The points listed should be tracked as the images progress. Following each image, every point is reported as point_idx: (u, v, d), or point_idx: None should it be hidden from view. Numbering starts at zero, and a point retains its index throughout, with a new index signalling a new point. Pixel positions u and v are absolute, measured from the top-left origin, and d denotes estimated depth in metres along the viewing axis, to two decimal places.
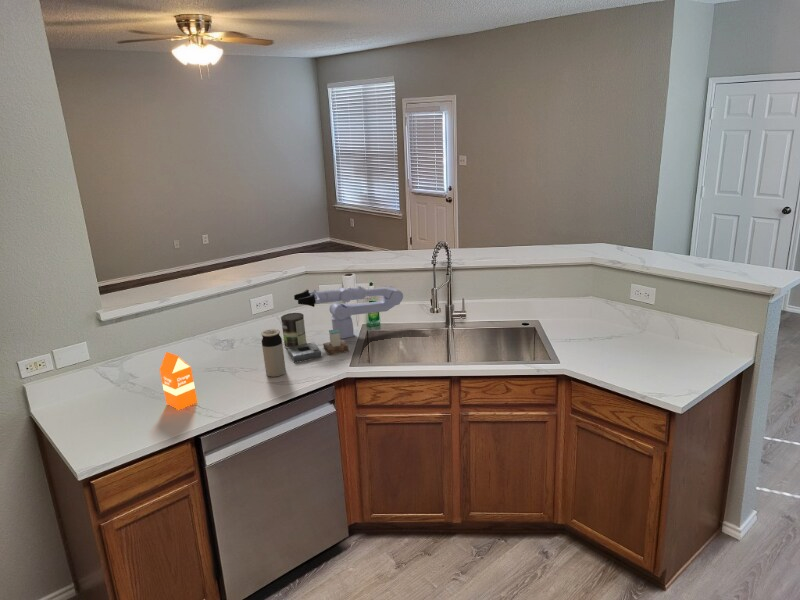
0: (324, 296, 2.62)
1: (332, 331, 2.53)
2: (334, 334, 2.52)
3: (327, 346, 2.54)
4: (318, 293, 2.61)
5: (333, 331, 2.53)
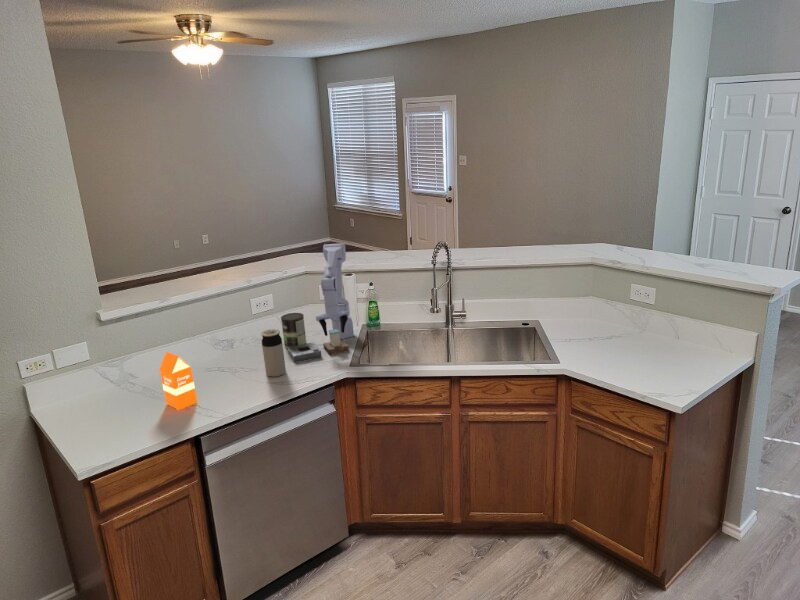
0: (338, 306, 2.50)
1: (332, 331, 2.53)
2: (334, 334, 2.52)
3: (327, 346, 2.54)
4: (337, 312, 2.49)
5: (333, 331, 2.53)
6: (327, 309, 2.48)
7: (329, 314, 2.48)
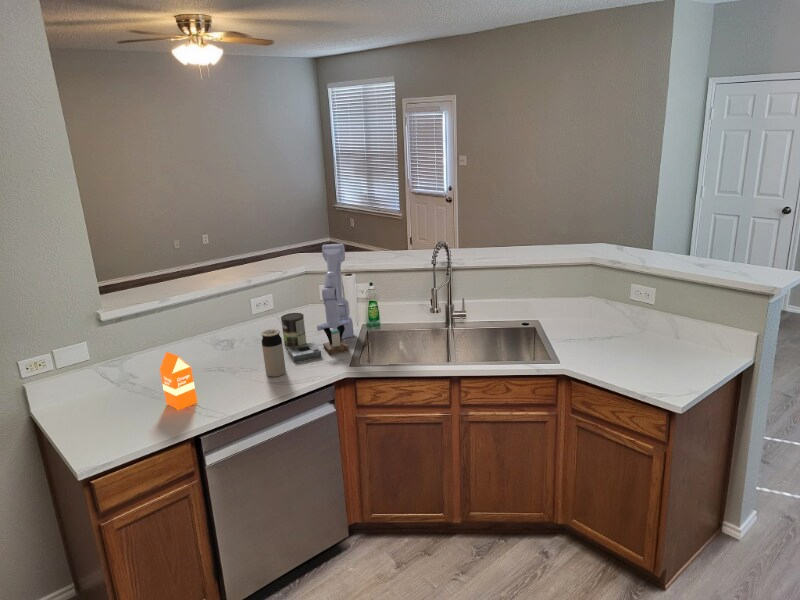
0: (338, 315, 2.51)
1: (332, 331, 2.53)
2: (334, 334, 2.52)
3: (327, 346, 2.54)
4: (338, 322, 2.51)
5: (333, 331, 2.53)
6: (328, 319, 2.49)
7: (330, 323, 2.49)
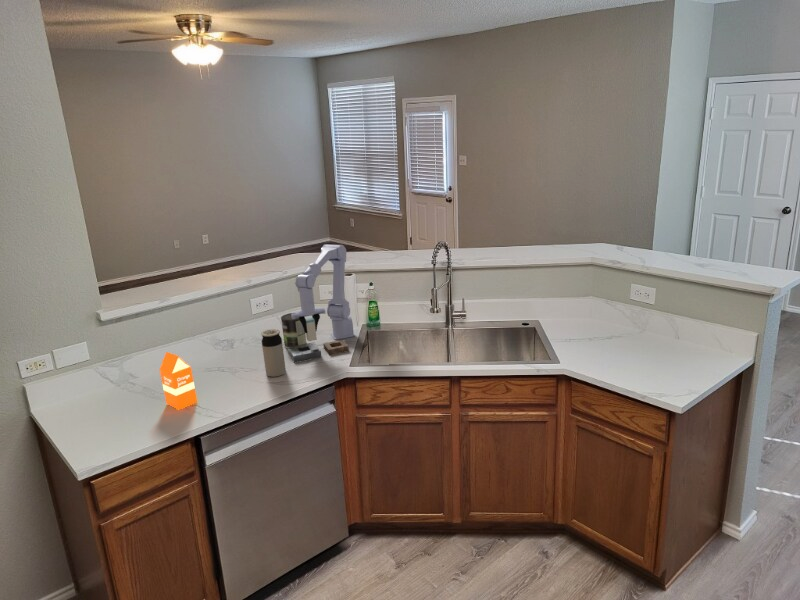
0: None
1: (307, 320, 2.48)
2: (309, 323, 2.47)
3: (327, 346, 2.54)
4: (313, 310, 2.46)
5: (308, 320, 2.48)
6: (303, 307, 2.44)
7: (305, 312, 2.44)
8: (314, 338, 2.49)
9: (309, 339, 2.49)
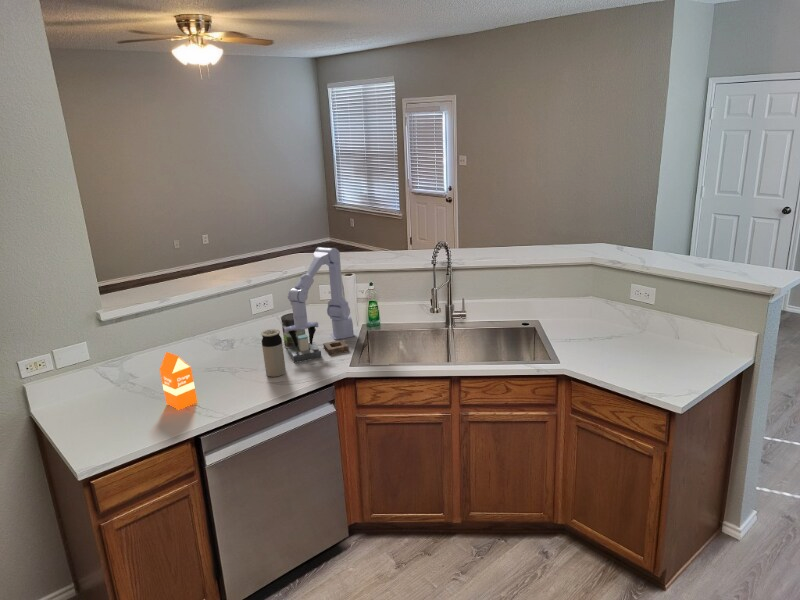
0: (306, 317, 2.47)
1: (300, 336, 2.49)
2: (302, 339, 2.48)
3: (327, 346, 2.54)
4: (305, 324, 2.46)
5: (301, 336, 2.49)
6: (295, 320, 2.45)
7: (297, 325, 2.45)
8: None
9: None
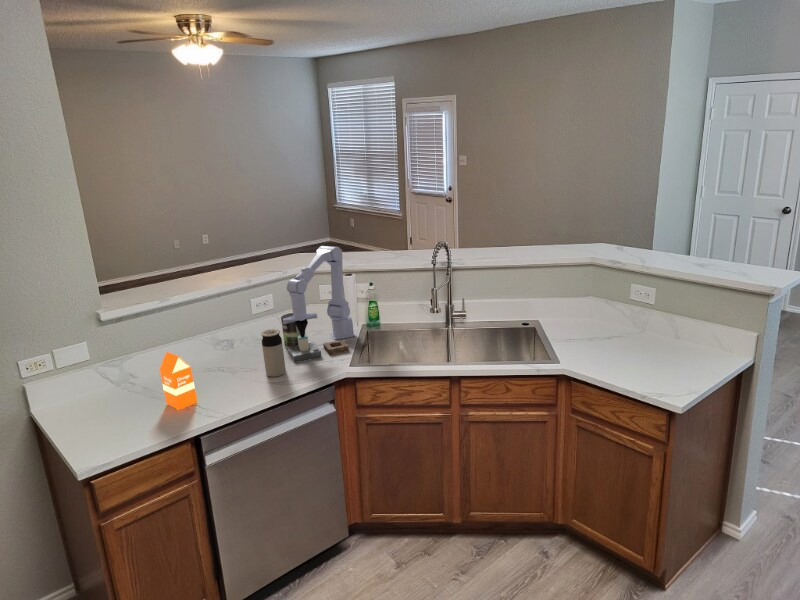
0: (305, 308, 2.46)
1: (300, 336, 2.49)
2: (302, 339, 2.48)
3: (327, 346, 2.54)
4: (304, 315, 2.45)
5: None
6: (294, 311, 2.44)
7: (296, 317, 2.44)
8: None
9: None
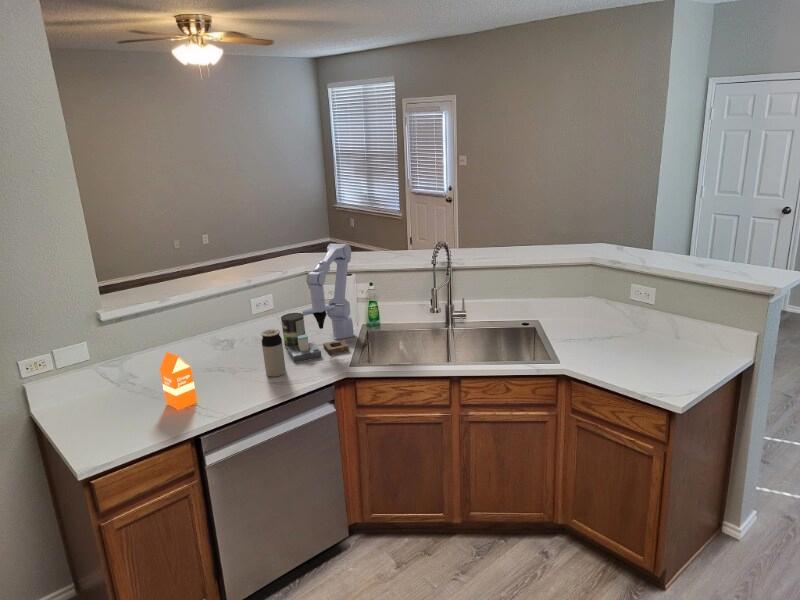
0: (324, 300, 2.50)
1: (300, 336, 2.49)
2: (302, 339, 2.48)
3: (327, 346, 2.54)
4: (323, 307, 2.49)
5: (301, 336, 2.49)
6: (313, 303, 2.48)
7: (315, 308, 2.48)
8: None
9: None
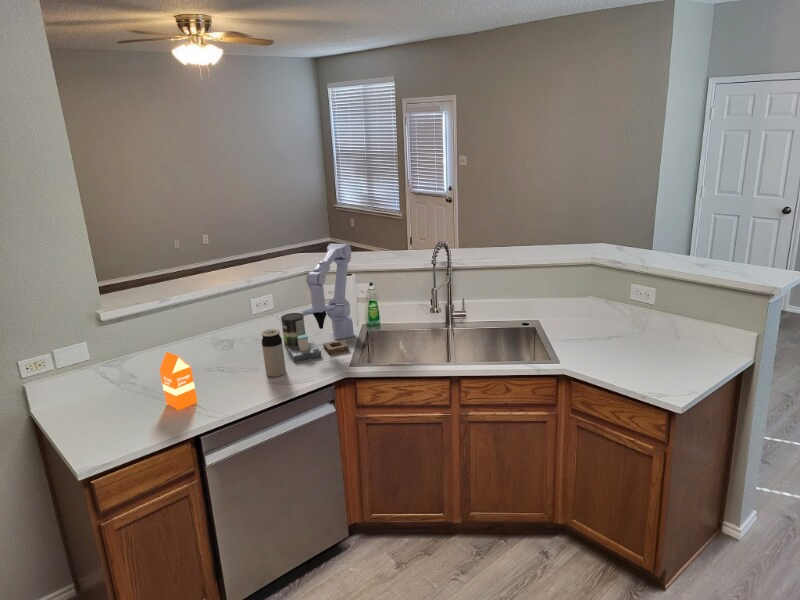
0: (324, 300, 2.50)
1: (300, 336, 2.49)
2: (302, 339, 2.48)
3: (327, 346, 2.54)
4: (323, 307, 2.49)
5: (301, 336, 2.49)
6: (313, 303, 2.48)
7: (315, 308, 2.48)
8: None
9: None
